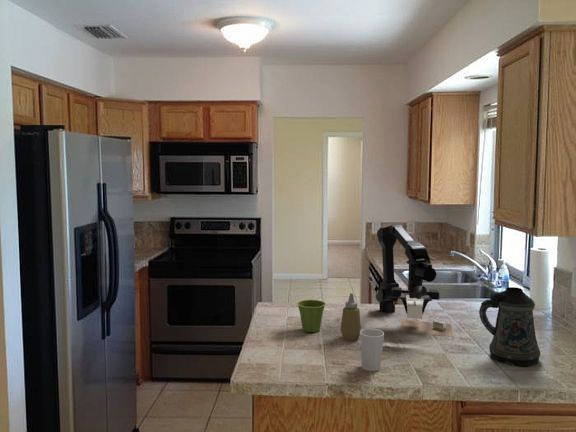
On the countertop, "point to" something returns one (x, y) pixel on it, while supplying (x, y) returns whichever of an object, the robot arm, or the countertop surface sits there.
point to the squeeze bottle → (351, 320)
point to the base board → (424, 328)
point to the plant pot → (311, 314)
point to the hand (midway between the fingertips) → (414, 313)
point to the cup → (371, 349)
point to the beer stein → (512, 328)
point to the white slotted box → (414, 309)
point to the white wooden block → (439, 325)
